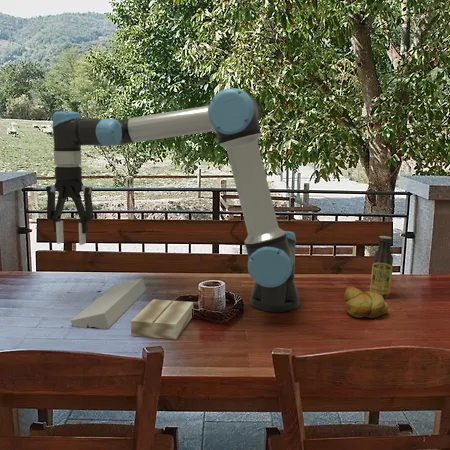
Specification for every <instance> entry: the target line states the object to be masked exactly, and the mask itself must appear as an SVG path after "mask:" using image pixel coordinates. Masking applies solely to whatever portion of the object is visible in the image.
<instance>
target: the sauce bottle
mask: <svg viewBox="0 0 450 450" xmlns="http://www.w3.org/2000/svg"><path fill="white" fill-rule="evenodd" d="M392 242H393V237H392V236H388V235H380V236H378V248H377V251H376V252H375V254H374V255H373V261H372V267H371V268H372V269H371V276H370V285H369V291H374V292H377V293H379V294H380V295H381V296H382V297H383V298H384V300H385V299H387V298H389V297H390V293H391V285H392V276H393V275H392V274H393V269H394V268H393V265H394V263H393V262H394V257H393V254H392V252H391V250H392V249H391V247H392Z"/></svg>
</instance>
